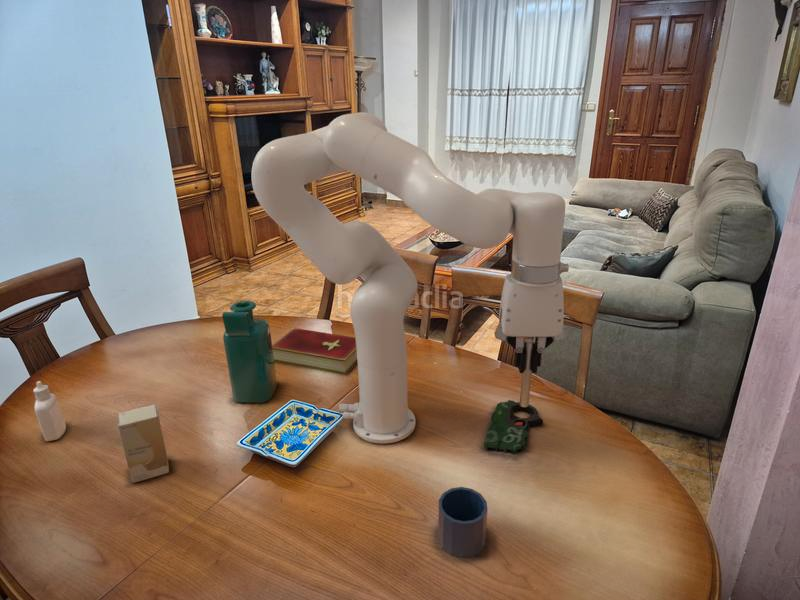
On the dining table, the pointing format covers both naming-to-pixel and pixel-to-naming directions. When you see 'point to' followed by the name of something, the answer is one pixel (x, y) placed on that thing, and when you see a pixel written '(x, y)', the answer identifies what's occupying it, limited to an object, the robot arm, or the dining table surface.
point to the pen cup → (462, 522)
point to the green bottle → (249, 354)
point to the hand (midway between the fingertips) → (526, 368)
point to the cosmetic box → (143, 443)
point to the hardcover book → (316, 350)
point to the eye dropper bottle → (48, 413)
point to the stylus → (526, 373)
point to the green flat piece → (510, 428)
